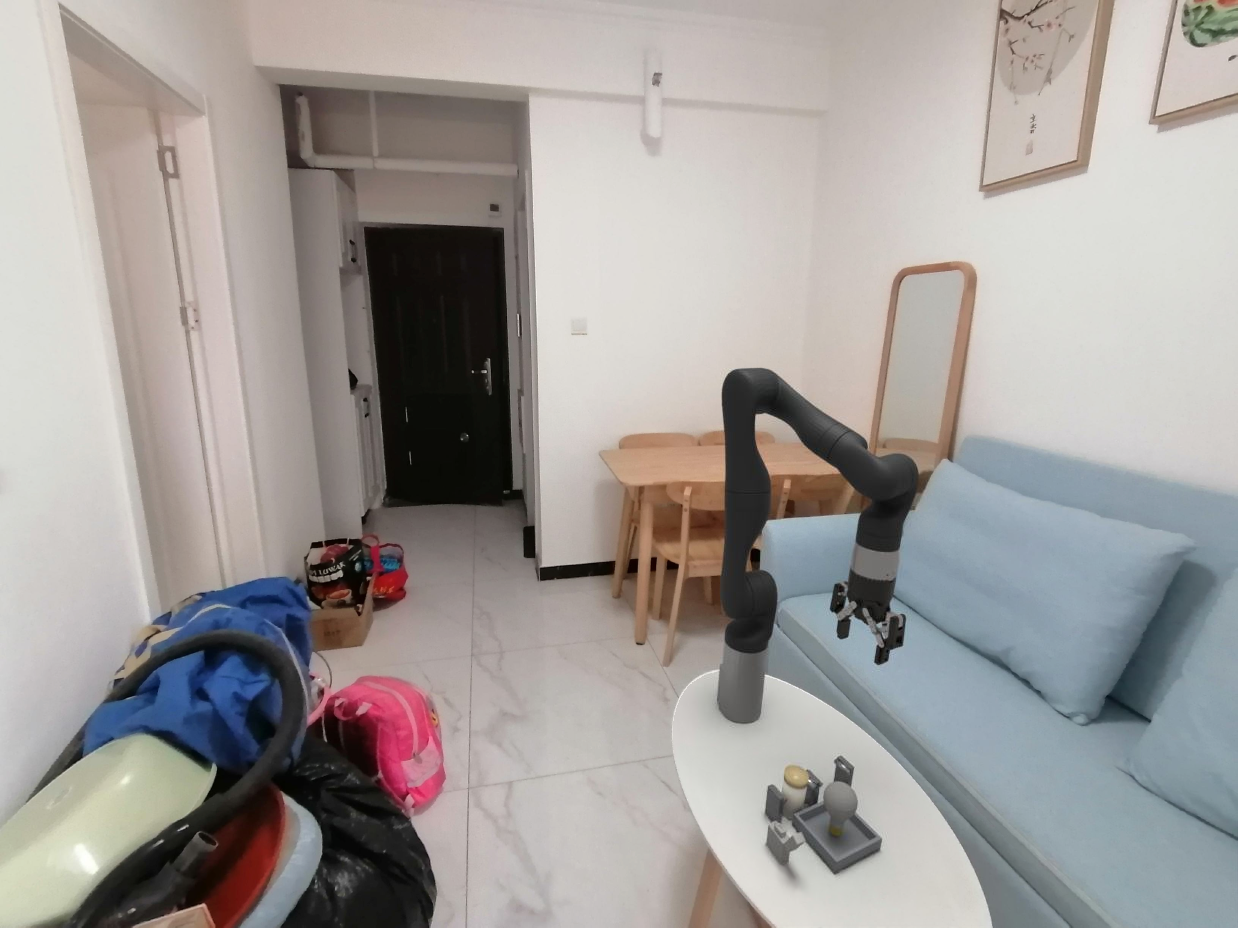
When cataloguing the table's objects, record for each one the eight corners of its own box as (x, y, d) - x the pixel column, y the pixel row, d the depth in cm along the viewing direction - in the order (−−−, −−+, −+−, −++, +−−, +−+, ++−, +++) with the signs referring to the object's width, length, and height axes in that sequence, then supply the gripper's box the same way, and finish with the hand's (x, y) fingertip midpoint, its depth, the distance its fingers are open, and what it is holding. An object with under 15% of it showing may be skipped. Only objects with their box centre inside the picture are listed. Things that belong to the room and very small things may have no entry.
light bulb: (854, 850, 100) (862, 802, 97) (820, 844, 101) (827, 796, 98) (849, 823, 105) (856, 776, 102) (816, 817, 106) (823, 771, 103)
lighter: (765, 843, 102) (769, 805, 99) (773, 840, 102) (778, 802, 100) (792, 880, 95) (797, 840, 93) (801, 876, 96) (806, 837, 94)
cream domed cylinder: (773, 806, 109) (779, 770, 107) (790, 797, 111) (795, 761, 109) (791, 823, 105) (797, 786, 103) (807, 814, 108) (814, 777, 106)
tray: (792, 825, 105) (793, 813, 105) (835, 805, 110) (837, 794, 109) (834, 873, 97) (836, 861, 96) (880, 849, 101) (882, 838, 100)
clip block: (764, 812, 108) (767, 785, 106) (837, 780, 115) (841, 755, 113) (776, 826, 105) (779, 799, 103) (850, 793, 112) (854, 766, 111)
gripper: (826, 555, 108) (816, 634, 113) (892, 590, 96) (877, 678, 100) (857, 548, 111) (846, 625, 116) (924, 581, 99) (908, 667, 104)
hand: (860, 650), depth 108 cm, fingers open, 8 cm apart
